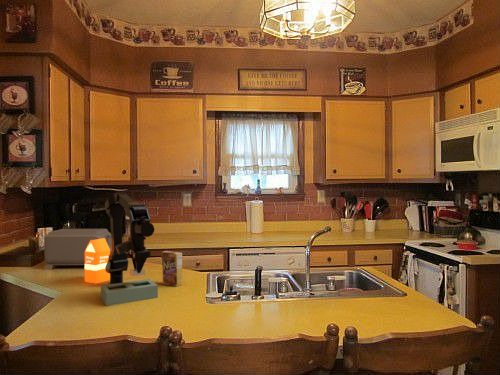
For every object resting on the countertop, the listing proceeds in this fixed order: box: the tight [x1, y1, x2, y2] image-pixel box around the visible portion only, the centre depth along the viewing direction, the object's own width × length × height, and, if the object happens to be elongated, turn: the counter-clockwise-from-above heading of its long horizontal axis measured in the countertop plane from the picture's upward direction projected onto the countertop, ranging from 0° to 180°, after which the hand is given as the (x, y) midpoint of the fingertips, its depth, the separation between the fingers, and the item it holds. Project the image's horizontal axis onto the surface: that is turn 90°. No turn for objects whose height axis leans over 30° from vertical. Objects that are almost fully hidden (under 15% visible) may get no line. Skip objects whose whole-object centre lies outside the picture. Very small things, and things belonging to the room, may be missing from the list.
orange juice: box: [84, 238, 110, 284], centre depth 183 cm, size 8×9×20 cm
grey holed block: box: [100, 278, 159, 307], centre depth 155 cm, size 12×20×5 cm, turn 122°
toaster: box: [42, 228, 112, 271], centre depth 216 cm, size 19×35×20 cm, turn 91°
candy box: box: [161, 250, 183, 288], centre depth 175 cm, size 9×4×15 cm, turn 60°
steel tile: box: [129, 267, 146, 277], centre depth 157 cm, size 4×5×2 cm
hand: (137, 272), depth 157 cm, fingers closed on steel tile, 4 cm apart
